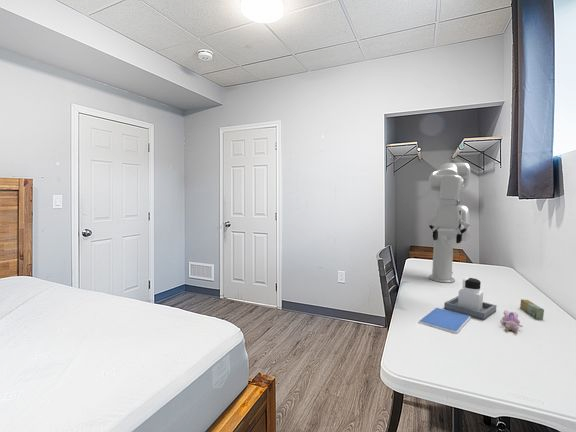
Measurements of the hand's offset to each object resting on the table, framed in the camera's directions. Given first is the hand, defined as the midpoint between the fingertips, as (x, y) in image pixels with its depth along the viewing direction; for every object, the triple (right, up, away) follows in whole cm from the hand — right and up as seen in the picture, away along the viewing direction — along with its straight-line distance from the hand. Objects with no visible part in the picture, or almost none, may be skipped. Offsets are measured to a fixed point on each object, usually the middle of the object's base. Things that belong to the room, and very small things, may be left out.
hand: (446, 241), depth 134 cm
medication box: (+25, -27, -16) cm, 40 cm away
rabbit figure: (+8, -28, -28) cm, 40 cm away
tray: (+2, -26, -14) cm, 30 cm away
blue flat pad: (-14, -27, -25) cm, 39 cm away
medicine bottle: (+2, -26, -14) cm, 30 cm away
